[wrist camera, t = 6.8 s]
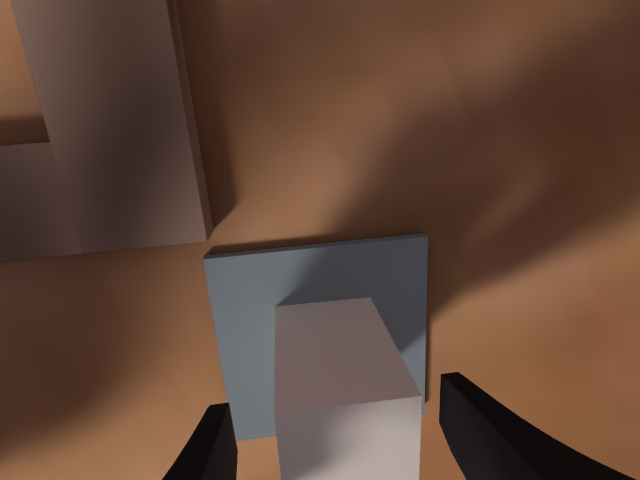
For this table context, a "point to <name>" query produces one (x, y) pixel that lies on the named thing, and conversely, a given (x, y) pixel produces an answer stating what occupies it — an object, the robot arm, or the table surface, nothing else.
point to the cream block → (343, 395)
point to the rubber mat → (309, 287)
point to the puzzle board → (104, 134)
